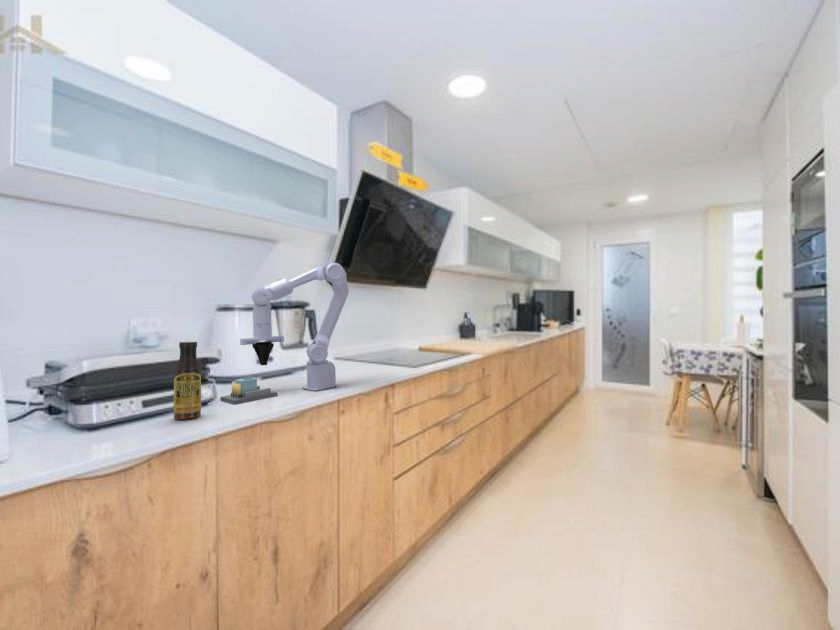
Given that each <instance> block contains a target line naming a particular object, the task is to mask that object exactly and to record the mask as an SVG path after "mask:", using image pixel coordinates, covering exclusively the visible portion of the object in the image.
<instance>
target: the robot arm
mask: <svg viewBox="0 0 840 630" xmlns="http://www.w3.org/2000/svg"><path fill="white" fill-rule="evenodd" d="M324 280H325V282H326V283H328V285H330V288H331V290H332V291H333V295H332V298H331V300H330V302H329V305H328V307H327V310H326V312H325V313H324V317H323V319H322V321H321V324H320V326H319V329H318V332H317V333H316V334H315V335H316V336H315V337H314V339H313V341H312V343H310V344H309V346H308V347H307V349H306V354H307V357H308V358H309V359H308V360H307V361H306V385H307V386H303V387H301V389H303V390H309V391H313V392H317V391H322V390H326V388H327V389H332V388H335V386H337V387H338V385H337V379H336V378H337V377H336V376H337V375H336V366H335V364H334V363H333V362H332V361H328V359H327V358H328V355H329V353H328V351H329V350H328V348H329V346H330V342H331V337H332V335H333V332H334V330H335V327H336V325H337V323H338V320H339V318H340V316H341V313H342V311H343V308H344V306H345V303H346V301H347V298H348V296H349V293H350V291H349V290H350V289H349V284H348V279H347V272H346V270H345V269H344V267H343V266H342V265H341V264H340V263H338V262H332V263H329V264H328V265H327V264H326V265H325V264H324V265H321V266H318V267H315V268H313V269H311V270H309V271H307V272H304V273H302V274H300V275H298V276H295V277H293V278H291V279H288V278H281V277H278V278H276V281H274V282H271V283H269V284H264V285H263V287H258V288H257V289H255V290H254V291H253V292H252V294H251V299H252V302H253V304H252V309H253V310H252V327H253V328H252V331H253V337H250V338H248V337H247V338H240V341H239V343H240V346H247V345H248V346H249V345H251V346H252V349H253V350H254V352H255V353H256V356H257V358H258V361H259V365H260V366H268V361H269V358H270V354H271V351H272V350H273V348H274V347H275V346H274V343H282V342H285V337H284V335H276V336H273V330H272V329H273V328H272V309H271V303H270V302H271V301H274V302H275V301H277V300H281V299H283V298H285V297H287V296H289V295H291V294H292V293H294V289H296V288H298V287H300V286H303V285H305V284H308V283H310V282H313V281H321V282H322V281H324ZM331 387H332V388H331Z"/></svg>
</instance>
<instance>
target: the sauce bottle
mask: <svg viewBox="0 0 840 630" xmlns="http://www.w3.org/2000/svg"><path fill="white" fill-rule="evenodd" d="M197 347H198V342H197V341H194V340H193V341H189V340H186V341H185V340H184V341H179V345H178V348H179V359H178V361H177V363H176V364H175V366H174V377H173V418H174V419H175V420H178V419H180V420H184V419H186V420H191V418H192V419H197V418H199V416H201V413H202V412H201V411H202V404H201V366H202V365H201V363H200V362H199V360H198V358H197ZM196 417H197V418H196ZM184 421H185V420H184Z"/></svg>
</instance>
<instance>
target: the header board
mask: <svg viewBox="0 0 840 630" xmlns="http://www.w3.org/2000/svg"><path fill="white" fill-rule="evenodd" d="M244 395H245V397H243V396H242V394H241V384H236V383H235V382H233V383H231V392H230V395H224V396H220V397H219V398H220V400H221V402H223V401H224V403H227V404H231V405H233V406H234V405H239V404H243V403H249V402H254V401H259V400H265V399H268V398H269V399H270V398H273V397H278V395H279V393H278V391H275V390H274V391H273V390H272V388H271V387H267V388H261V387H260V385H257V390H255V391H249V392H244Z"/></svg>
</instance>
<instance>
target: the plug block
mask: <svg viewBox="0 0 840 630" xmlns="http://www.w3.org/2000/svg"><path fill="white" fill-rule="evenodd" d="M234 383H236V384H241V394H242V396H243V397H245V395H244V392H249V391H255V390H257V386H258V378H257V377H256V378H255V377H252V376H246V377H242V378H237V379H234Z"/></svg>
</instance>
